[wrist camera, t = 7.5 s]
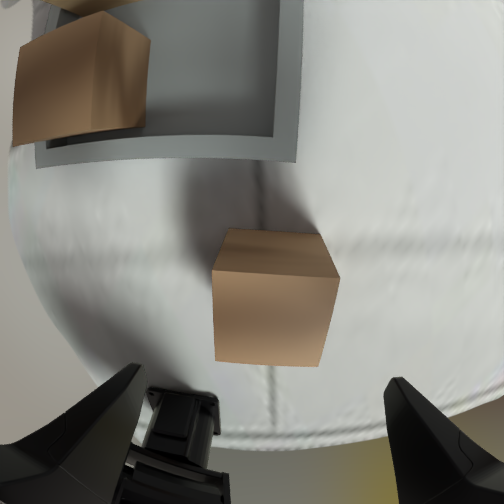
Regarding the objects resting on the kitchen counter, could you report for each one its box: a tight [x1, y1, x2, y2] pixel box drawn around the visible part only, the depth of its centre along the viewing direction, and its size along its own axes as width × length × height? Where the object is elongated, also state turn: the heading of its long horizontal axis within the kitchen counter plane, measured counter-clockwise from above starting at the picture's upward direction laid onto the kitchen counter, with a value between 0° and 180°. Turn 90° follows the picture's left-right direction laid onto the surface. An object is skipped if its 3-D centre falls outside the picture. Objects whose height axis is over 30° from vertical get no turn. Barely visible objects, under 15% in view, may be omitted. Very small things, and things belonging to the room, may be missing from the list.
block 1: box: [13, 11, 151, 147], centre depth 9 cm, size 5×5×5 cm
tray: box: [35, 0, 304, 169], centre depth 9 cm, size 16×14×2 cm
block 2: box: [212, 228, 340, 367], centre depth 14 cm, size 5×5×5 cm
